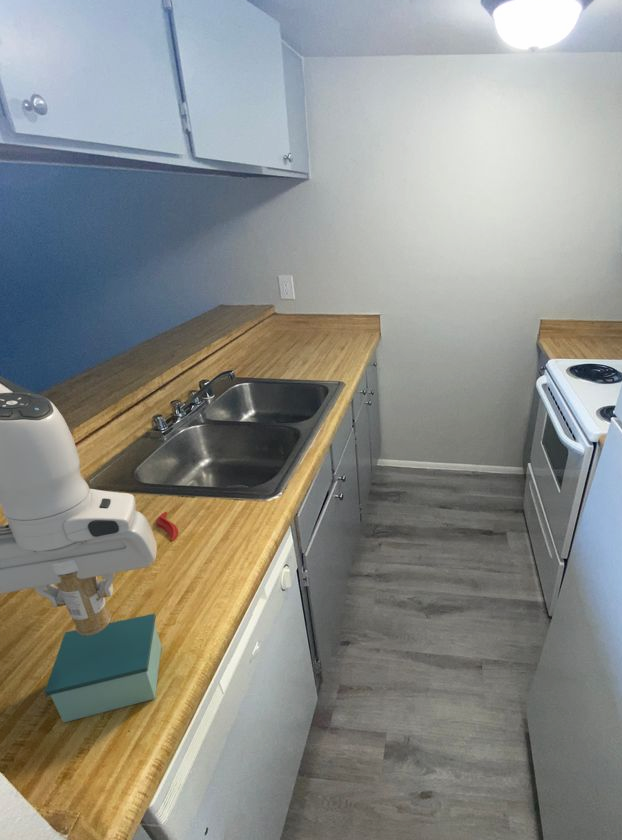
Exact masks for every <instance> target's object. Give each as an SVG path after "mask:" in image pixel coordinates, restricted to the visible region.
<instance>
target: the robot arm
mask: <svg viewBox="0 0 622 840" xmlns="http://www.w3.org/2000/svg"><path fill="white" fill-rule="evenodd" d="M80 467H81V458H80V455H79V452H78V449H77V446H76V443H75V440H74V438H73V435H72V433H71V431H70V428H69V426H68V424H67V422H66V420H65V418H64V416H63V415H62V413H61V412H60V411H59V409H58V408H57V406H56V405H55V404H54V403H53V402H52V401H51V400H50V399H48V398H47V397H45V396H43V395H39V394H38V393H36V392H34V391H32V390H30V389H27V388H26V387H22V386H21V385H19V384H16V383H14V382H13V381H10V380H9V379H7V378H5V377H3V376H2V375H0V507H1V509H2V513H3V516H4V518H5V521H6V522H7V524H1V525H0V595H3V594H8V593H14V592H19V591H24V590H30V589H34V591H35V593H36V594H38V595H39V596H42V597H43V598H45V599H48V600H50V602H51V605H52V607H53V608H57V607H63V606H66V604H65V602H64V600H63V597H62V595H61V592H60V590H59V587H57V586H56V585H58V583H61V578H60V577H58V575H57V574H55V573H54V570H53V567H52V564H54V563H57V562H63V561H69V560H74V561H75V563H76V565H77V567H78V570H77V571H75V572H78V573H77V574H76V575H77V578H79V579H85V578H91V577H100V576H101V579H102V580H101V581H98V582H99V586H98V588H97V593H98V594H99V598H111V597H112V596H113V593H114V585H113V581H114V579H115V576H116V574H118V573H123V572H128V571H129V572H130V571H135V570H140V569H146V568H149V567H151V566H152V565H153V564H154V562H155V560H156V559H157V553H158V545H157V544H158V543H157V541H156V537H155V535H154V532H153V530H152V528H151V525H150V523H149V521H148V519H147V517H146V516H145V515H144V514H143V513H142V512H140V511H138V510H136V509H137V501H136V497H135V496H134V495H133V494H132V493H126V492H117V491H107V490H101V489H94V488H90V486H89V484H88V482H87V481H86V480H85V478H84V477H83V476H82V474H81V473H82V472H81V468H80Z"/></svg>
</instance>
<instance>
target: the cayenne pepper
mask: <svg viewBox="0 0 622 840" xmlns="http://www.w3.org/2000/svg"><path fill="white" fill-rule="evenodd" d="M167 514H168V511H164V512H163V513H161V514H160V515H159V516H158V517H157V518H156V520H155V524H156V526H157V527H158V528H160V529H161V530H163V531H165V533H166V534H167V535H168V537H169V538H170V542H173V541H175V540H176V539H177V537H178V536H179V529H178V526H176V524H174V522H171V521H170V520H168V519H167V518H166V516H167Z"/></svg>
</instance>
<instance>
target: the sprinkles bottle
mask: <svg viewBox="0 0 622 840" xmlns="http://www.w3.org/2000/svg"><path fill="white" fill-rule="evenodd" d="M52 567H53V570H54V573H55V574H57V575H58V577H60V578H61V583H58V584H57V586H58V588H59V590H60V592H61V595H62V597H63V600H64V602H65V604H66V605H65V606H66V609H67V611H68V614H69V616H70V618H71V619H72V621H73V623H74V628H75V629H74V630H76V632H77V633H78V634H80V635H85V636H87V635H93V634H96V633H98V632H100V631H102V630H103V629H104V628H106V627H107V626H108V624H109V623H111V622H112V614H111V612H110V610H109V607H108V606H107V603H106V599H105V598H106V597H104V598H99V594H98V593H97V588H98V586H99V582H100V581H99V580H98V576H96V577H91V578H85V579H79V578H77V575H76V574H77V573H78V572H75V571H77V570H78V567H77V565H76V563H75V561H74V560H69V561H63V562H57V563H54V564H52Z"/></svg>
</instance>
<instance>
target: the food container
mask: <svg viewBox="0 0 622 840" xmlns="http://www.w3.org/2000/svg"><path fill="white" fill-rule="evenodd" d="M156 616H157V615H156V614H155V613H150V614H146V615H141V616H137V617H131V618H127V619H123V620H117V621H113V622H112V621H111V622H110V623H109V624H108V626H107V627H106V628H104V629H103V630H102V631H100V632H98V633H96V634H93V635H87V636H85V635H80V634H78V633H77V632H76V629H74V630H69V631H65V632H64V635H63V638H62V641H61V644H60V646H59V649H58V652H57V655H56V658H55V661H54V664H53V667H52V670H51V672H50V676H49V678H48V680H47V684H46V687H45V690H44V695H45V696H47V697H48V696H50V697H51V700H52V702H53V704H54V706H55V708H56V710H57V712H58V714H59V717H60V718H61V720H62V722H63V723H68V722H71V721H75V720H79V719H83V718H87V717H91V716H94V715H99V714H103V713H107V712H110V711H113V710H117V709H121V708H126V707H129V706H132V705H136V704H137V705H138V704H140V703H141V704H142V703H144V702H149V701H152V700H155V699H156V693H157V687H158V686H157V685H158V679H159V669H160V663H161V654H162V642H161V639H160V636H159V633H158V630H157V626H156Z"/></svg>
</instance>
